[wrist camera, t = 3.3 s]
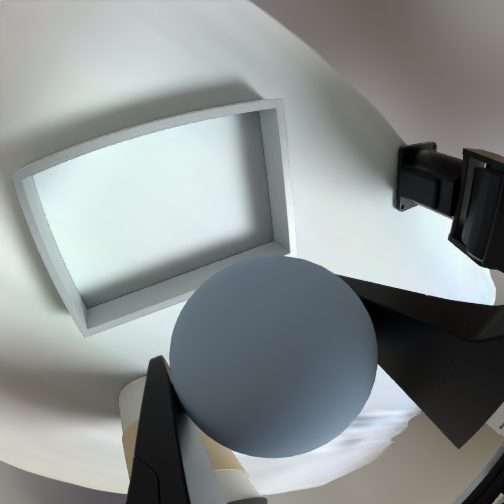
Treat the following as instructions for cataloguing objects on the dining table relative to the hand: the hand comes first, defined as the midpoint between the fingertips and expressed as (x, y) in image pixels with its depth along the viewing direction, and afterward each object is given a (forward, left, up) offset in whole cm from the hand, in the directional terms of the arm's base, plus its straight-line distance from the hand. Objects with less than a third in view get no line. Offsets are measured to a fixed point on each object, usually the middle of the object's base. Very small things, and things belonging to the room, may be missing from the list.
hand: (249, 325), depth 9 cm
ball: (0, 0, -1) cm, 1 cm away
